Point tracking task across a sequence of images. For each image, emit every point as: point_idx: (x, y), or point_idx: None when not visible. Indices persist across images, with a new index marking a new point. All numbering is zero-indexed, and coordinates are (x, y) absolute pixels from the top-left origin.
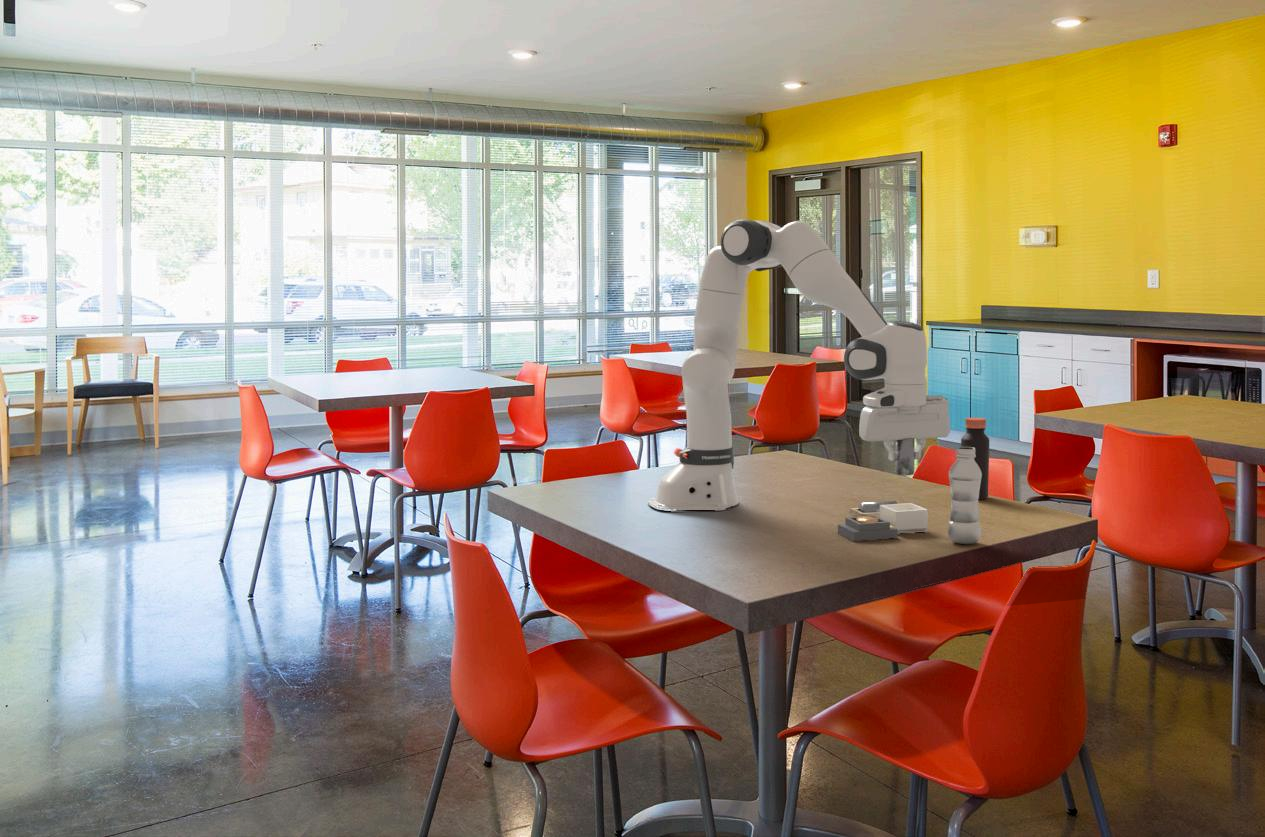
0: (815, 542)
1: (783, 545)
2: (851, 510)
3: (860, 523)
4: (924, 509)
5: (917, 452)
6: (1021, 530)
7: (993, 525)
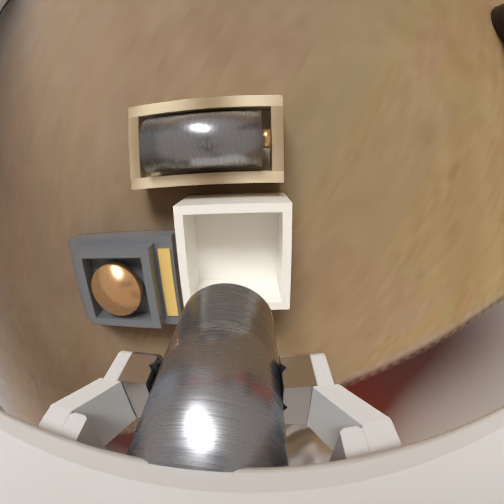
0: (39, 290)
1: (5, 291)
2: (129, 117)
3: (94, 318)
4: (281, 304)
5: (298, 419)
6: (454, 304)
7: (446, 254)
